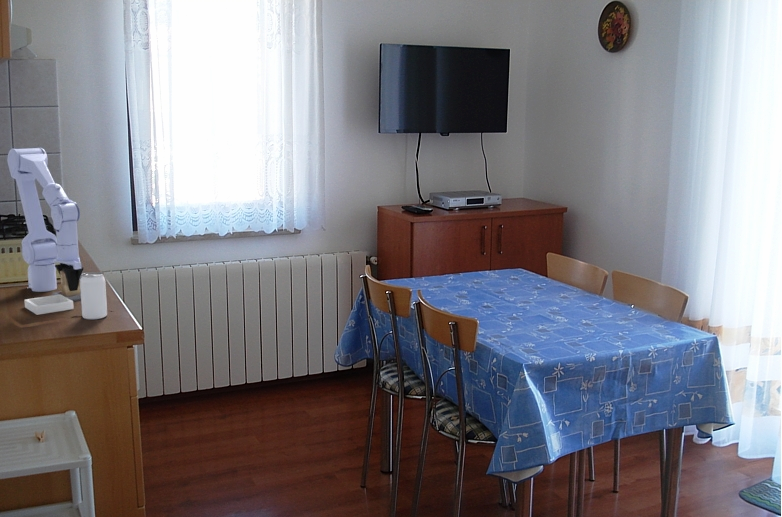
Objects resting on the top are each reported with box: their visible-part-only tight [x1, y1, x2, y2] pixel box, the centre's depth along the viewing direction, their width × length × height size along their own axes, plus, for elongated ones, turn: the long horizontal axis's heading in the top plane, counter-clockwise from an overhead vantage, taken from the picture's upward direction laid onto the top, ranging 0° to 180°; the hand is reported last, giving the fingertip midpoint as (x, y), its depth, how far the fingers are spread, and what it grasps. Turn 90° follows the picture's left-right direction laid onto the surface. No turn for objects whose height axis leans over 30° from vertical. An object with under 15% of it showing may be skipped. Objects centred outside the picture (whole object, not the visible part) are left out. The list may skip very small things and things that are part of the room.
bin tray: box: [24, 294, 75, 315], centre depth 225 cm, size 10×10×3 cm
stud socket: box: [51, 290, 81, 302], centre depth 237 cm, size 9×9×2 cm
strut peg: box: [59, 271, 80, 296], centre depth 236 cm, size 4×4×8 cm
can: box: [79, 271, 108, 321], centre depth 219 cm, size 6×6×12 cm
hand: (70, 289), depth 236 cm, fingers closed on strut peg, 4 cm apart
